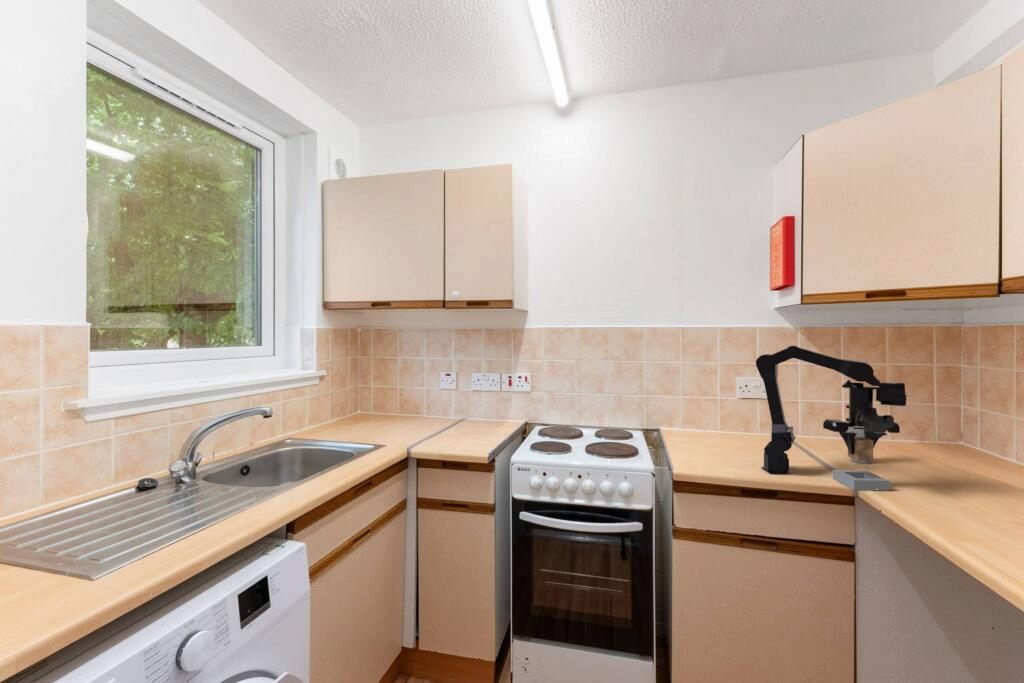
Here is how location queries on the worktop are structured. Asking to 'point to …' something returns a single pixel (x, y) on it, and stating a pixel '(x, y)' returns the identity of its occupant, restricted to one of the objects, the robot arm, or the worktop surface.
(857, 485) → the socket block
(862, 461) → the lotion bottle
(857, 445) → the peg
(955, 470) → the worktop surface
